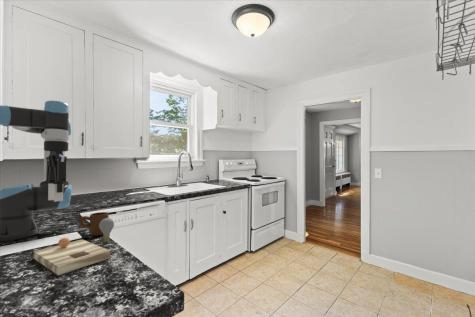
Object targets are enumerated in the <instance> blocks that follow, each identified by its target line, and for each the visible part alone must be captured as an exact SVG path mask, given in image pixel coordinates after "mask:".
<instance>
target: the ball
mask: <svg viewBox="0 0 475 317" xmlns="http://www.w3.org/2000/svg"><path fill="white" fill-rule="evenodd" d="M70 242H71V240H70V238H69V237H65V236H64V237H62V238H59V240H58V243H57V246H58V245H59V246H60V247H66V246H68V245H69V243H70Z"/></svg>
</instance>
